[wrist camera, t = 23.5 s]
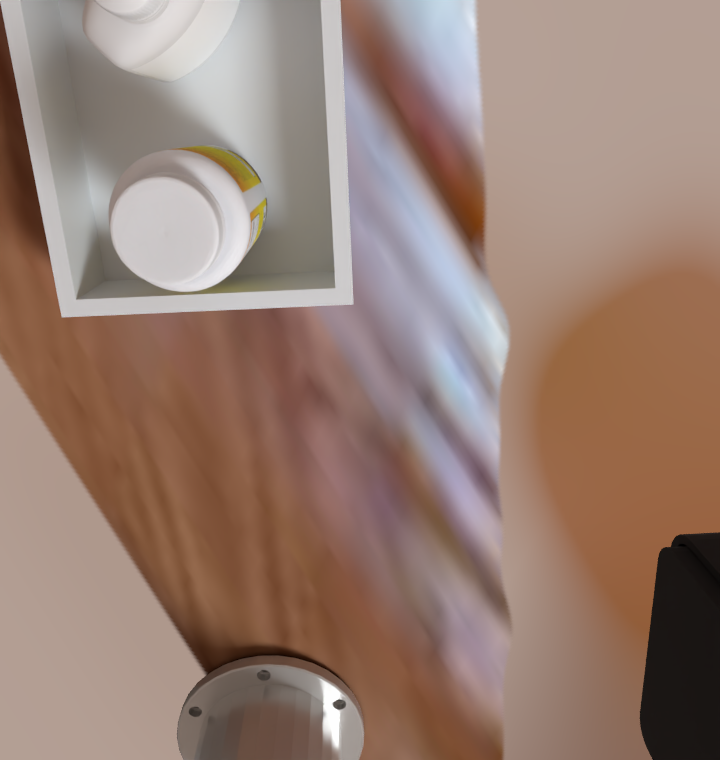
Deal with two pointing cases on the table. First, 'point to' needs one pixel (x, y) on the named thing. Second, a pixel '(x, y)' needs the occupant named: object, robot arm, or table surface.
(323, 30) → the box
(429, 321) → the table surface
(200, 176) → the supplement bottle
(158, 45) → the eye dropper bottle
